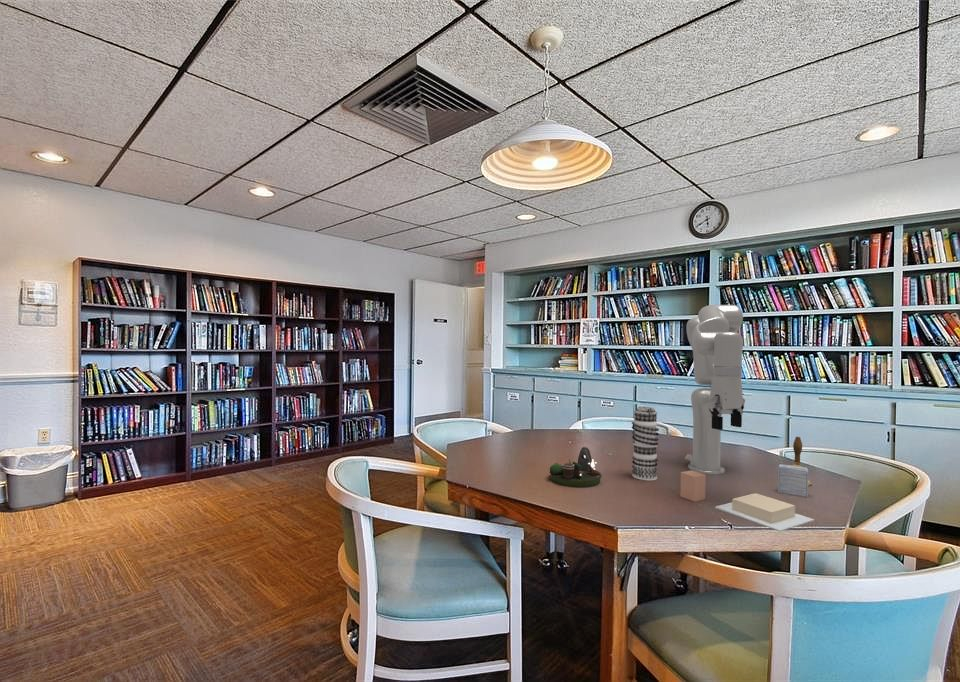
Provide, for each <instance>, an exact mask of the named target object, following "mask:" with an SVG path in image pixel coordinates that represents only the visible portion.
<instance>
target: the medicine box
mask: <svg viewBox="0 0 960 682" xmlns="http://www.w3.org/2000/svg"><path fill="white" fill-rule="evenodd" d="M777 473H778V476H777V477H778V480H777V482H778V484H777V485H778V487H777V493H779V494H784V495H790V496H791V495H792V496H797V497H804V498H808V497H809V486H808V480H809V469H808V468H807V467H804V466H802V467H797V466H791V465H789V464H781V463H780V464H778V471H777Z"/></svg>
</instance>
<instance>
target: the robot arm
mask: <svg viewBox="0 0 960 682" xmlns="http://www.w3.org/2000/svg"><path fill="white" fill-rule="evenodd" d="M697 315H698V316H697V317H692V318H690V319H688V321H687V322H686V335H687V340H688V342H689V345H690V347H691V350H692V354H693V355H692V356H693V357H692V358H693V374H694V375H693V376H694V381H695V382H696V384H697V385H699V386H708V387H710V388H707V387H705V388H702V387H701V388H697V389H695V390H693V391H692V393H691V396H690V400H691V401H690V403H691V409H692V425H693V426H692V427H693V428H692V454H690V453H687V454H686V456H685V457H684V459H685V460H687V461H690V463H689V464H688V465H687V467H688V469H689V471H690V470H692V471H695V472H699V473H702V474H705V475H706V474H707V475H722V474H725V472H726V470H725V468H724V467H723V466H721V444H722V443H721V441H722V440H721V435H722V434H721V432H722V431H723V428H724V424H723V423H724V416H722V415H730V426H731V427H735V428H742V425H743V417H742V416H743V414H744V411H743V410H744V408H745V402H746V399H745V398H744V397H743V383H742V374H743V373H742V363H743V362H742V360H743V358H742V357H743V354H742V353H743V348H744V341H743V340H744V339H743V338H742V335H741V333H740V332H738V331H739V330H740V328H741V327H742V324H743V320H744V314H743V311H742V309H741V308H740V306H738V305H736V304H710V305H706V306H704V307H703V306H702V308H701V309H700V310H699V311H698V314H697Z"/></svg>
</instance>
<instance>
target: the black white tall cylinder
mask: <svg viewBox="0 0 960 682" xmlns="http://www.w3.org/2000/svg"><path fill="white" fill-rule="evenodd" d="M633 412H634V414H633V415H634V417H633V418H634V419H633V421H632V422H631V424H632V426H631V429H632V432H631V434H632V435H631V438H632V439H633V440H632V445H633V452H632V455H633V456H632V459H633V460H632V461H631V462H632V464H633V465H631V468H632V470H631V472H632V474H631V475H632V477H633V478H634V479H638V480H640V481H656V480H657V479H658V474H659V473H658V472H657V471H658V470H659V469H658V467H657V466H658V465H659V464H658V463H657V462H658V458H657V457H658V456H657V447H658V445H659V443H658V441H659V438H658V437H657V436H659V435H660V433H659V431H660V429H659V428H658V427H657V425H658V420H657V414H658V412H657V411H656V410H655V408H654V407H651V406H638V407H637V408H636V409H635V410H634V411H633Z"/></svg>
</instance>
